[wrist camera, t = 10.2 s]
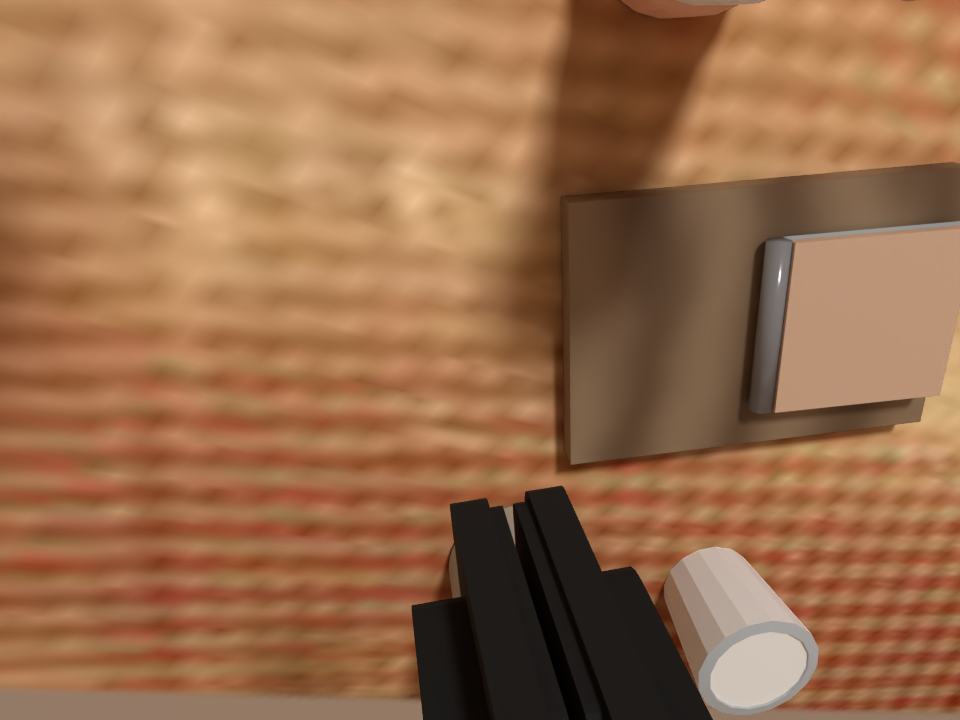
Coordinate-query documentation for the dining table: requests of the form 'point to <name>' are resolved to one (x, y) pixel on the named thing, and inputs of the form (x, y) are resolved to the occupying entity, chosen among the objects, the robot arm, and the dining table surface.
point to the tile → (855, 317)
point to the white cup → (737, 633)
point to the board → (706, 304)
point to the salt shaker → (685, 7)
